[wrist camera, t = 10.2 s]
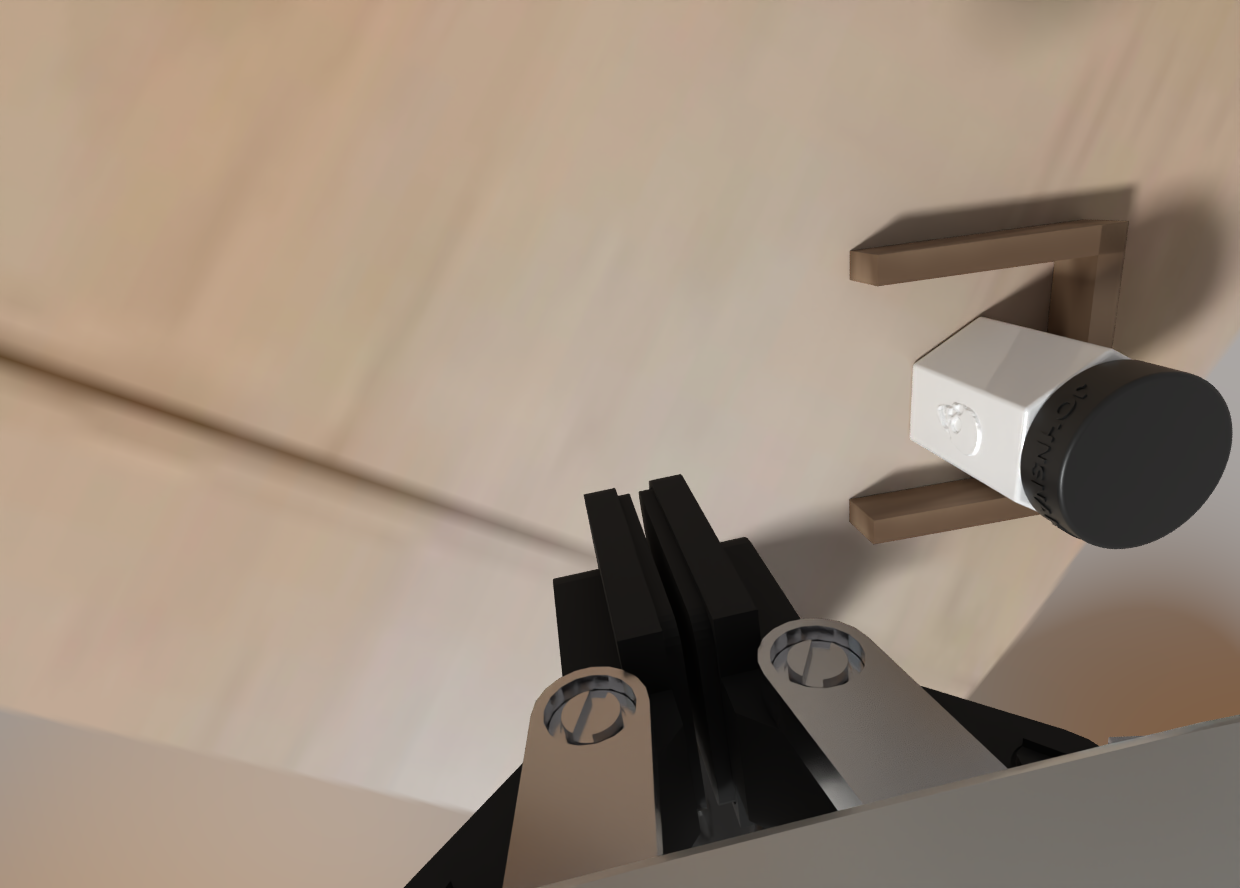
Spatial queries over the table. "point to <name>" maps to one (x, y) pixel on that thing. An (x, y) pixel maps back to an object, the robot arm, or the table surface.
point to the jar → (1073, 430)
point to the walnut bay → (1076, 312)
